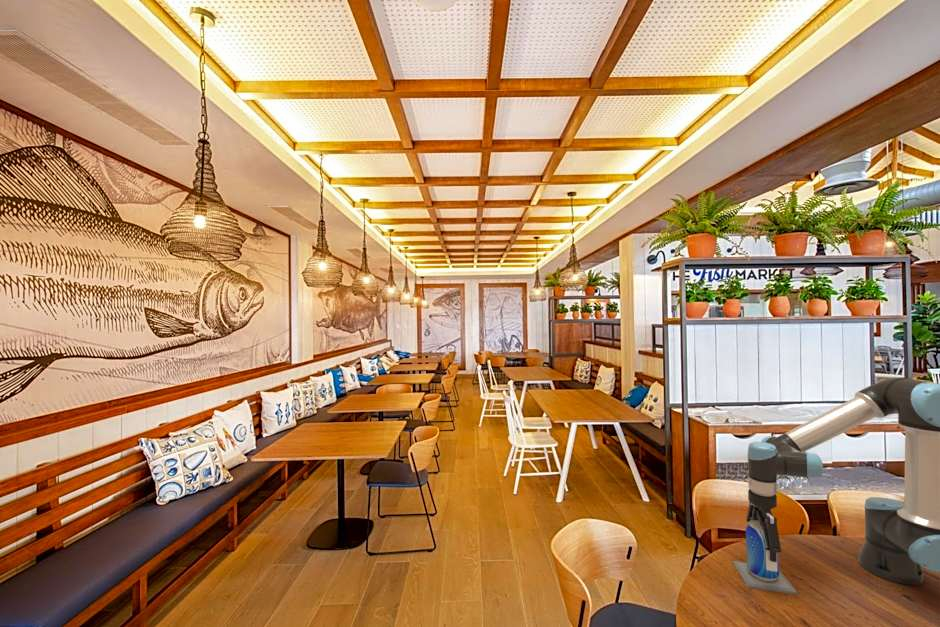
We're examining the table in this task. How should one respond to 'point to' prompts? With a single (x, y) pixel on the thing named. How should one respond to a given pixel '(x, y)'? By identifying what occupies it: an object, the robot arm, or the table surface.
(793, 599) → the table surface
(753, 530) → the beer can
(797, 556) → the table surface
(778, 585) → the plate
